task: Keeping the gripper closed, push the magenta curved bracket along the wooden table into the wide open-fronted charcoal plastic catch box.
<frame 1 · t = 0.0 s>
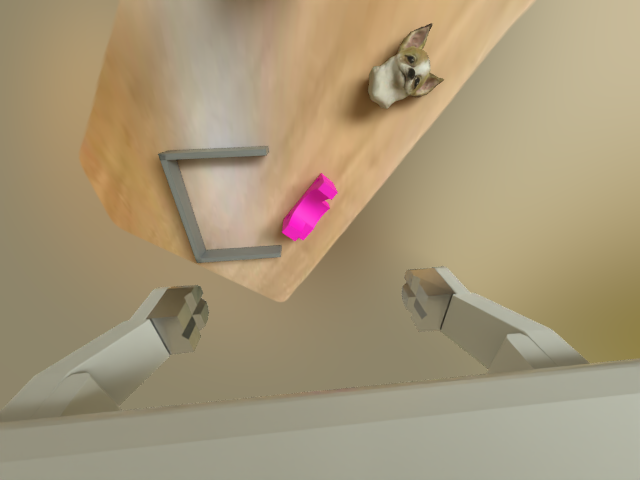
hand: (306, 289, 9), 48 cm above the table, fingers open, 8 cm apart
ceramic sculpture: (396, 76, 47), on the table
magenta curved bracket: (311, 204, 59), on the table
catch box: (234, 205, 57), on the table
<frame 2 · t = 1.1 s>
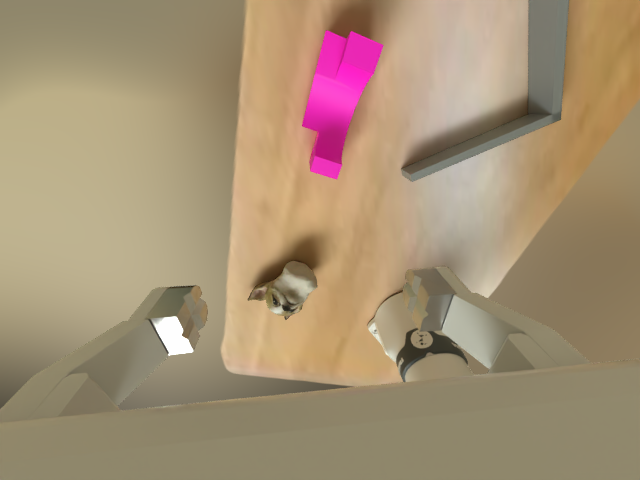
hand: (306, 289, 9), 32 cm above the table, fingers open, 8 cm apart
ceramic sculpture: (288, 280, 49), on the table
magenta curved bracket: (327, 111, 35), on the table
catch box: (451, 55, 32), on the table
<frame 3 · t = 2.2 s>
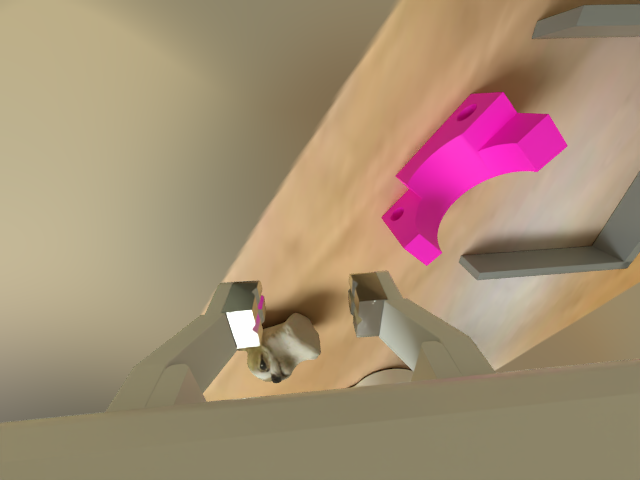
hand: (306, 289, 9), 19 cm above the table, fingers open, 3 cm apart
ceramic sculpture: (278, 329, 39), on the table
magenta curved bracket: (429, 172, 28), on the table
catch box: (568, 166, 28), on the table
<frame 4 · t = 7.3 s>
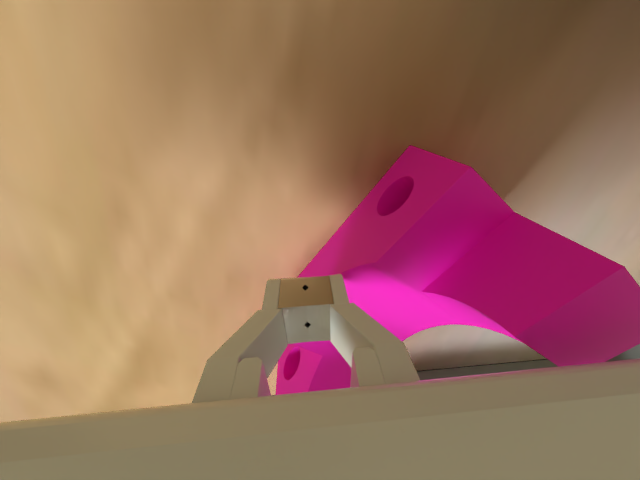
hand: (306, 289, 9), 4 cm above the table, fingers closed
magenta curved bracket: (352, 279, 15), on the table, touching gripper
catch box: (554, 243, 14), on the table
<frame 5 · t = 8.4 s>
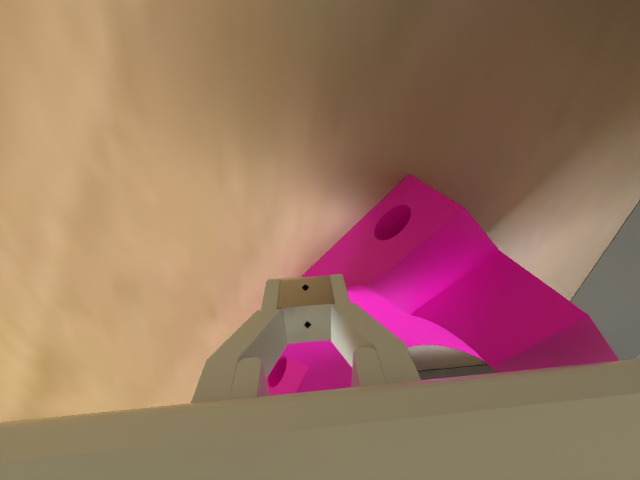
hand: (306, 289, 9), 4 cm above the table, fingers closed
magenta curved bracket: (343, 292, 15), on the table, touching gripper
catch box: (453, 250, 14), on the table
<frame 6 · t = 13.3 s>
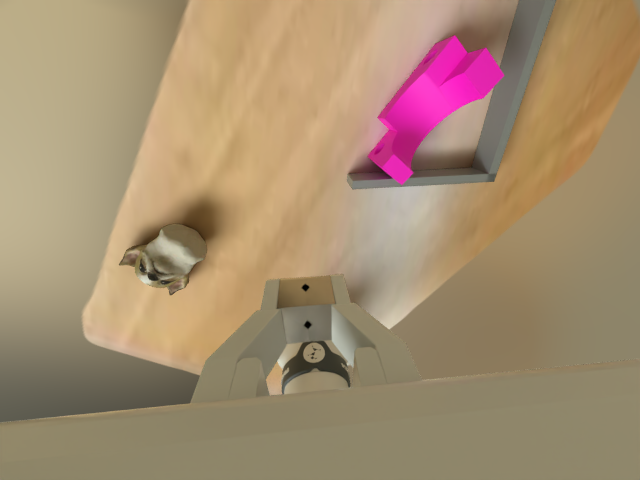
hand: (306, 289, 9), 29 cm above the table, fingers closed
ceramic sculpture: (177, 248, 41), on the table
magenta curved bracket: (405, 114, 33), on the table
catch box: (424, 78, 31), on the table
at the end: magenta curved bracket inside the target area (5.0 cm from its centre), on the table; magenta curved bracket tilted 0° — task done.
